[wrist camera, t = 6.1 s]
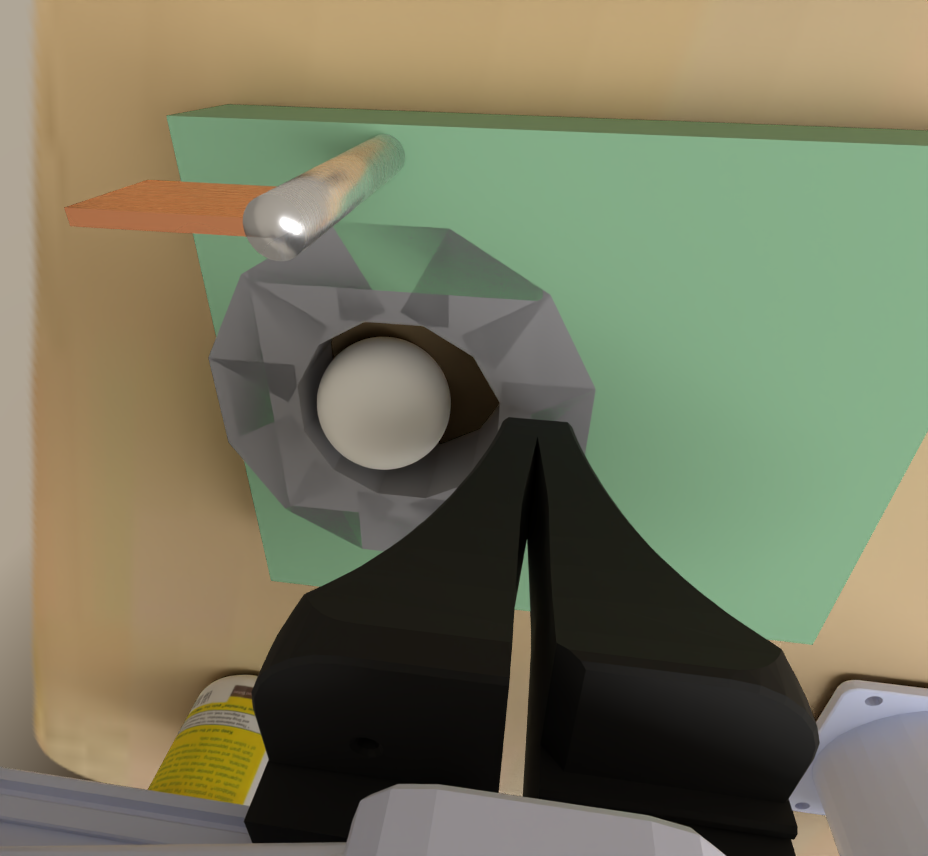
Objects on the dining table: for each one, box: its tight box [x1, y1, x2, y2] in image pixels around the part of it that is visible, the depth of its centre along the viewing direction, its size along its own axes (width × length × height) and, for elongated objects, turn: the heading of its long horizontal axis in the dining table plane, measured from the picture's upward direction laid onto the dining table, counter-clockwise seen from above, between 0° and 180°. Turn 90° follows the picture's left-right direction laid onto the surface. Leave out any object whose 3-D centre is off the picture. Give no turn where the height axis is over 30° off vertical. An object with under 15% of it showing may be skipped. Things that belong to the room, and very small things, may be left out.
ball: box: [317, 337, 451, 470], centre depth 14 cm, size 3×3×3 cm
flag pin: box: [64, 134, 405, 261], centre depth 9 cm, size 3×1×5 cm, turn 89°
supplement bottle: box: [148, 675, 269, 806], centre depth 21 cm, size 6×6×10 cm
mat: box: [167, 104, 928, 645], centre depth 14 cm, size 15×12×2 cm
